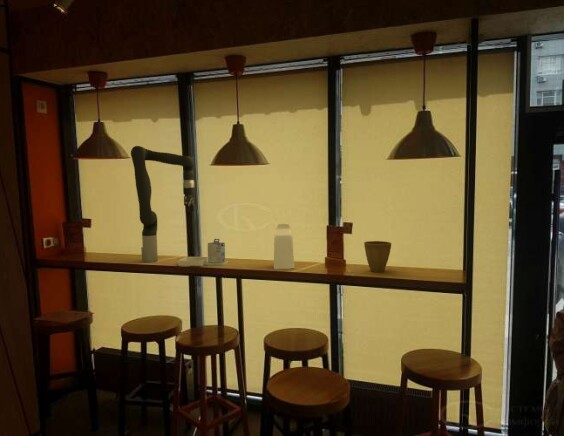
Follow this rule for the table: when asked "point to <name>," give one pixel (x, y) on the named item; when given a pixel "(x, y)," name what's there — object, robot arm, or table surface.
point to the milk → (283, 247)
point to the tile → (216, 263)
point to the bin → (193, 261)
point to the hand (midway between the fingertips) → (189, 211)
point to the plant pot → (377, 254)
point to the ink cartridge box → (216, 252)
